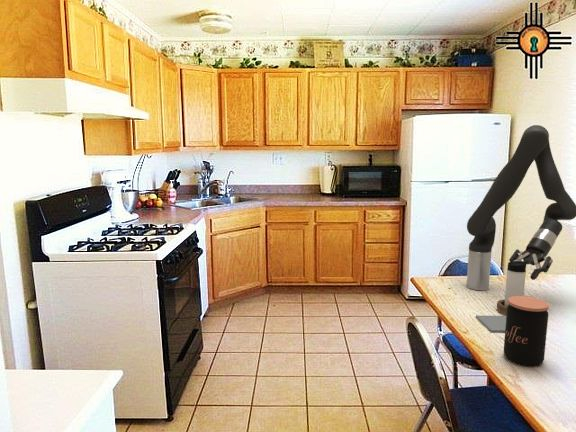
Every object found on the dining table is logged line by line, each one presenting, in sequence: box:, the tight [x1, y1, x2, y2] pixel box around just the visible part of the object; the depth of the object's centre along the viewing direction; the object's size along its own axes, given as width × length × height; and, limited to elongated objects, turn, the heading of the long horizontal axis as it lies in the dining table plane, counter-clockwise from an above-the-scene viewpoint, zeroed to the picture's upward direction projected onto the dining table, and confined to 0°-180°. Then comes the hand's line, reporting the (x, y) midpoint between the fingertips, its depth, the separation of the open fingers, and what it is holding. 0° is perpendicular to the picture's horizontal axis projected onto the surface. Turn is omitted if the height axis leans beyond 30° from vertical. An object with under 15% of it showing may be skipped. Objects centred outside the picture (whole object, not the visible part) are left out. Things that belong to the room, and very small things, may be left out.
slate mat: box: [475, 315, 506, 334], centre depth 153 cm, size 13×13×1 cm
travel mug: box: [504, 260, 529, 307], centre depth 163 cm, size 6×7×20 cm
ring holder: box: [496, 298, 507, 316], centre depth 165 cm, size 11×11×3 cm
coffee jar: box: [503, 295, 550, 368], centre depth 127 cm, size 11×11×18 cm
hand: (521, 275), depth 164 cm, fingers open, 8 cm apart
